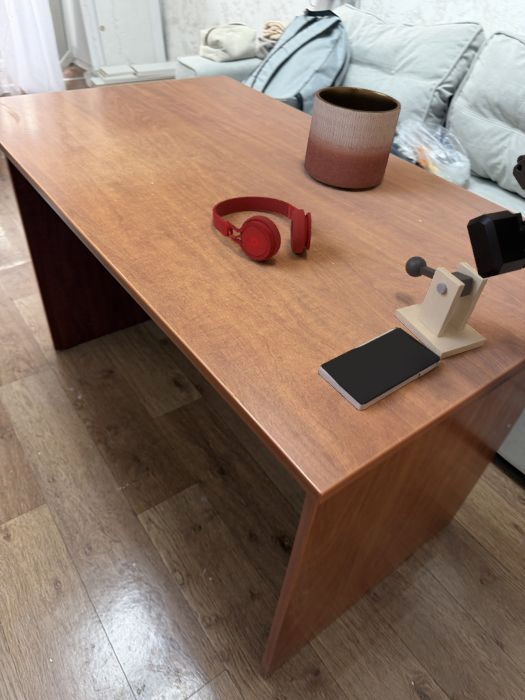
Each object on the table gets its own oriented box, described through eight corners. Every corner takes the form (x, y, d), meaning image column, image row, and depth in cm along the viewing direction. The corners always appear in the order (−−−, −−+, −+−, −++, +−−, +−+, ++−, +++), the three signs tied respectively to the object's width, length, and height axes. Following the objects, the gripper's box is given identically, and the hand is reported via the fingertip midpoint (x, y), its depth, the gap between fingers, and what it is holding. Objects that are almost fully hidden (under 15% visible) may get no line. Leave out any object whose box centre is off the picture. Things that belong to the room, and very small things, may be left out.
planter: (368, 200, 100) (388, 119, 90) (290, 177, 105) (300, 98, 95) (391, 172, 112) (411, 98, 102) (321, 153, 117) (333, 80, 107)
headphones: (327, 255, 82) (270, 216, 96) (332, 213, 77) (271, 180, 92) (248, 272, 76) (200, 228, 90) (248, 228, 72) (198, 189, 86)
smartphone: (317, 365, 61) (397, 325, 68) (315, 372, 62) (395, 331, 69) (363, 406, 56) (443, 359, 64) (360, 413, 57) (440, 365, 64)
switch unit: (394, 315, 72) (414, 258, 65) (435, 304, 75) (458, 248, 68) (439, 359, 65) (466, 301, 59) (482, 345, 68) (513, 288, 62)
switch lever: (399, 275, 72) (402, 255, 71) (415, 271, 73) (418, 252, 72) (454, 300, 64) (458, 279, 62) (471, 296, 65) (476, 274, 63)
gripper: (654, 121, 49) (520, 181, 63) (524, 134, 42) (407, 198, 56) (678, 229, 49) (539, 265, 63) (554, 260, 42) (429, 292, 56)
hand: (482, 253), depth 60 cm, fingers closed
